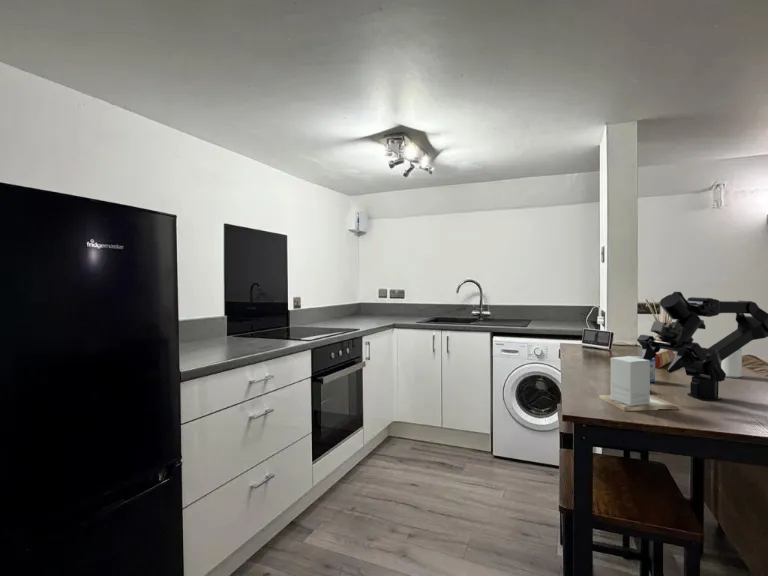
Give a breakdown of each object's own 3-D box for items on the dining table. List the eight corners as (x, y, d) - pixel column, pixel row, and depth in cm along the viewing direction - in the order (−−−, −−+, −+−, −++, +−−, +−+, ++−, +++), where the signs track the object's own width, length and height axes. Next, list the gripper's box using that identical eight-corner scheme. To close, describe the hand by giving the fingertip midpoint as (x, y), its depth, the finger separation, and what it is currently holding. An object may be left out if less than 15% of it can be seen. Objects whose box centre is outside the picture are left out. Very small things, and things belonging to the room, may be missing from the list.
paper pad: (648, 397, 132) (648, 393, 132) (677, 409, 120) (677, 404, 120) (599, 398, 131) (599, 394, 131) (624, 410, 119) (624, 406, 119)
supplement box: (650, 404, 121) (651, 360, 120) (630, 406, 118) (630, 361, 118) (629, 397, 128) (629, 355, 127) (609, 399, 125) (609, 357, 125)
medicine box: (629, 381, 152) (630, 357, 152) (627, 378, 156) (628, 355, 156) (655, 383, 149) (655, 358, 149) (652, 380, 153) (652, 356, 153)
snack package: (657, 360, 190) (658, 345, 189) (675, 362, 185) (675, 347, 184) (642, 367, 175) (642, 351, 175) (660, 369, 170) (661, 353, 170)
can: (746, 378, 155) (747, 346, 154) (727, 378, 155) (727, 346, 154) (731, 374, 162) (731, 343, 161) (712, 374, 162) (713, 343, 162)
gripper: (641, 309, 135) (613, 345, 132) (699, 314, 117) (668, 356, 115) (660, 332, 138) (633, 368, 135) (720, 341, 120) (690, 382, 117)
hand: (654, 368), depth 125 cm, fingers open, 9 cm apart
